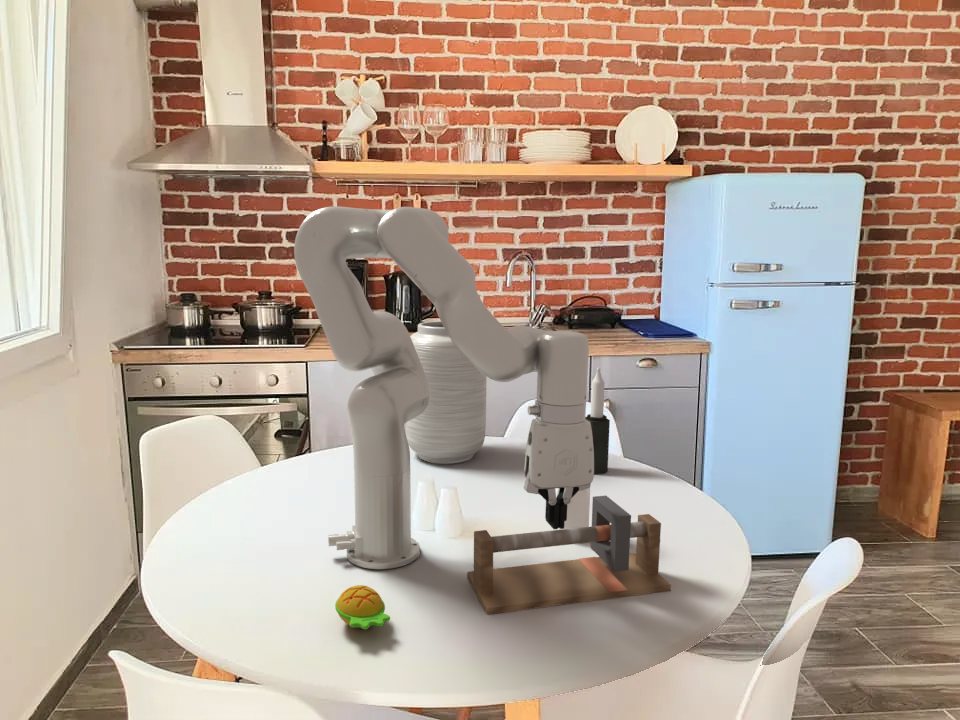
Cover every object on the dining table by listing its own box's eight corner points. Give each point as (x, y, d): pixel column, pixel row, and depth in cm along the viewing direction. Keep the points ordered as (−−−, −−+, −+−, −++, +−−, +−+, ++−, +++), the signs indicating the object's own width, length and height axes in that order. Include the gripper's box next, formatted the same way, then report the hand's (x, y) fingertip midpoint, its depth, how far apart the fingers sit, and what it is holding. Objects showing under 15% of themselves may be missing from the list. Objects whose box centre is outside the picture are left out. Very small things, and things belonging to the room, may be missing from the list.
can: (587, 543, 131) (589, 480, 129) (551, 540, 132) (553, 477, 130) (589, 529, 137) (591, 469, 135) (555, 526, 138) (557, 466, 136)
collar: (614, 571, 112) (616, 516, 110) (590, 547, 120) (592, 496, 119) (628, 570, 112) (631, 515, 111) (603, 546, 121) (606, 495, 120)
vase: (452, 440, 197) (453, 317, 191) (501, 457, 181) (504, 325, 176) (390, 453, 184) (388, 322, 178) (437, 473, 169) (437, 331, 163)
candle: (580, 468, 174) (583, 366, 169) (599, 466, 175) (603, 365, 171) (589, 474, 169) (593, 370, 165) (609, 473, 170) (613, 369, 166)
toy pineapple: (374, 605, 108) (374, 572, 107) (398, 638, 99) (397, 602, 98) (329, 616, 105) (328, 581, 104) (349, 651, 96) (348, 613, 95)
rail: (487, 614, 106) (487, 552, 104) (467, 577, 117) (467, 521, 115) (670, 590, 113) (673, 532, 112) (635, 558, 125) (637, 505, 123)
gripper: (522, 420, 104) (517, 539, 108) (616, 416, 108) (609, 531, 112) (506, 408, 112) (503, 520, 115) (595, 404, 116) (589, 513, 119)
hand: (555, 525), depth 113 cm, fingers closed
